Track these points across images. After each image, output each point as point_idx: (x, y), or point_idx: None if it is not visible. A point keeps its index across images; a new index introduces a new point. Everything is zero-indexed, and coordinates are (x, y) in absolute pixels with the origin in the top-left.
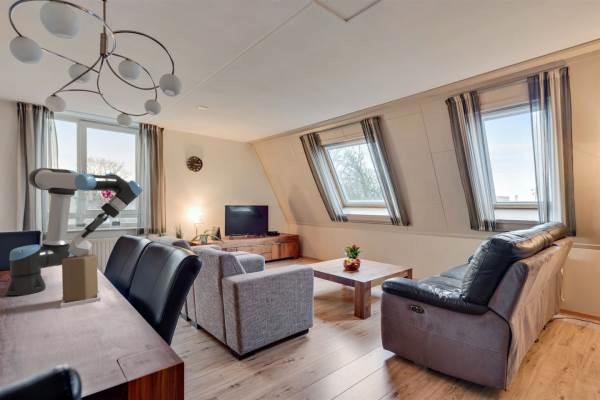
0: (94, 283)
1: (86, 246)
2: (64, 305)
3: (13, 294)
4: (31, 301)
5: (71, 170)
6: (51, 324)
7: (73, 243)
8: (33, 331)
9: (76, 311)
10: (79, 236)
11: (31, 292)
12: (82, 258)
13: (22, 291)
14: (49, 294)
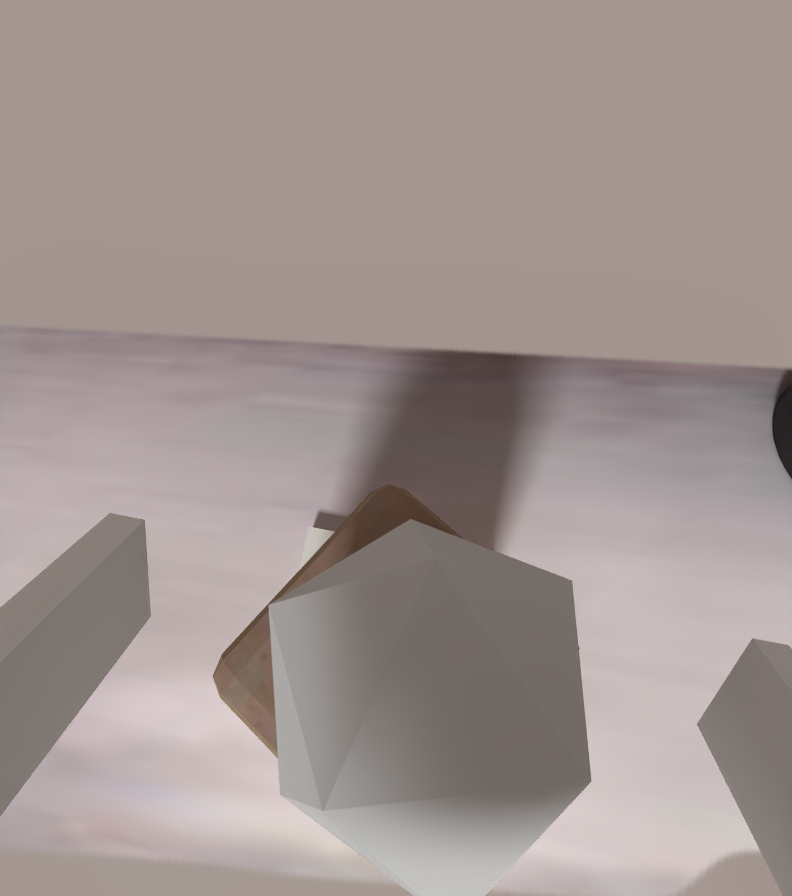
0: None
1: (290, 769)
2: (306, 544)
3: (789, 389)
4: (594, 445)
5: None
6: (67, 461)
7: (366, 572)
8: (44, 401)
9: (169, 578)
10: (2, 630)
11: (787, 459)
12: (226, 659)
13: (790, 417)
14: (696, 530)
